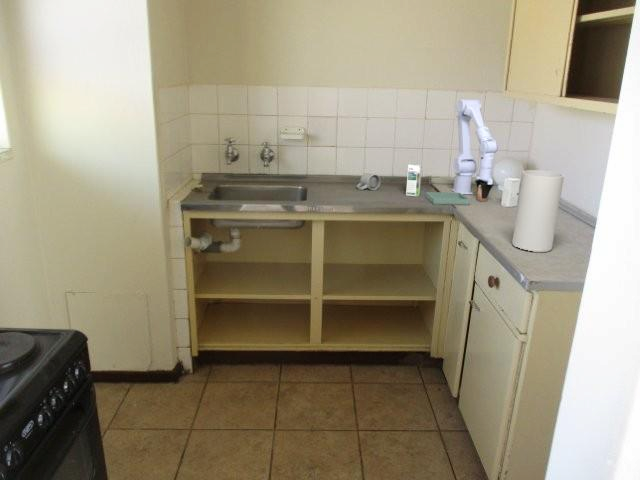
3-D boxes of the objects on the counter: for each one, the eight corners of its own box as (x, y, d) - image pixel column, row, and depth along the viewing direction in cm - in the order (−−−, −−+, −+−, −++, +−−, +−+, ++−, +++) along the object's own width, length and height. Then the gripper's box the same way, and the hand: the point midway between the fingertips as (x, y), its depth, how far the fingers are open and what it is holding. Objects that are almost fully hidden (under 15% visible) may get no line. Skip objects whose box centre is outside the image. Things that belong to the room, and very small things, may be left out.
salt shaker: (475, 199, 243) (477, 184, 240) (485, 199, 243) (486, 184, 241) (478, 201, 238) (480, 186, 236) (488, 201, 239) (490, 186, 236)
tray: (425, 197, 244) (426, 192, 243) (459, 197, 245) (459, 192, 244) (433, 204, 230) (434, 199, 230) (469, 205, 231) (469, 199, 231)
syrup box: (405, 195, 247) (407, 164, 242) (407, 193, 252) (410, 163, 247) (417, 196, 245) (420, 166, 240) (419, 194, 250) (422, 164, 246)
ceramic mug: (370, 186, 265) (371, 171, 263) (380, 189, 259) (381, 173, 256) (353, 188, 260) (353, 173, 258) (362, 191, 253) (363, 176, 251)
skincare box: (508, 207, 229) (512, 180, 225) (500, 205, 233) (503, 178, 229) (517, 205, 232) (521, 179, 229) (509, 203, 236) (512, 177, 232)
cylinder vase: (557, 247, 176) (570, 174, 169) (541, 255, 168) (554, 179, 160) (522, 239, 185) (532, 168, 177) (505, 246, 177) (515, 172, 169)
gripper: (471, 164, 243) (468, 193, 247) (483, 170, 229) (479, 200, 233) (486, 164, 243) (483, 193, 247) (498, 170, 229) (494, 200, 233)
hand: (482, 196), depth 240 cm, fingers closed on salt shaker, 5 cm apart
